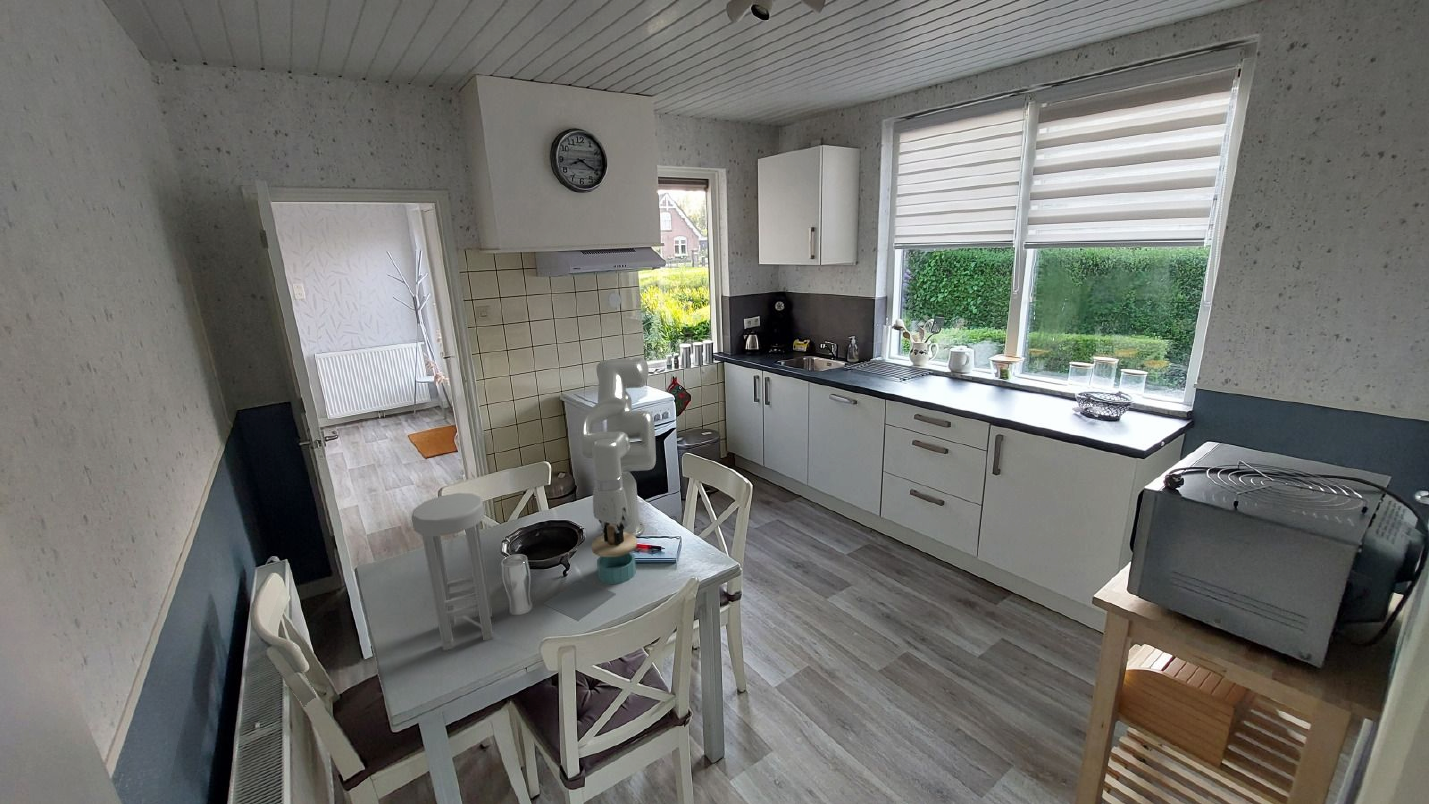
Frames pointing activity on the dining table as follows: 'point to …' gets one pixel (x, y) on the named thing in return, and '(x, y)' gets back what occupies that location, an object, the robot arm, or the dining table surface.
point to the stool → (431, 524)
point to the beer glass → (517, 583)
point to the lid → (613, 544)
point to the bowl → (616, 568)
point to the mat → (579, 599)
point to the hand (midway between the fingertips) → (614, 541)
